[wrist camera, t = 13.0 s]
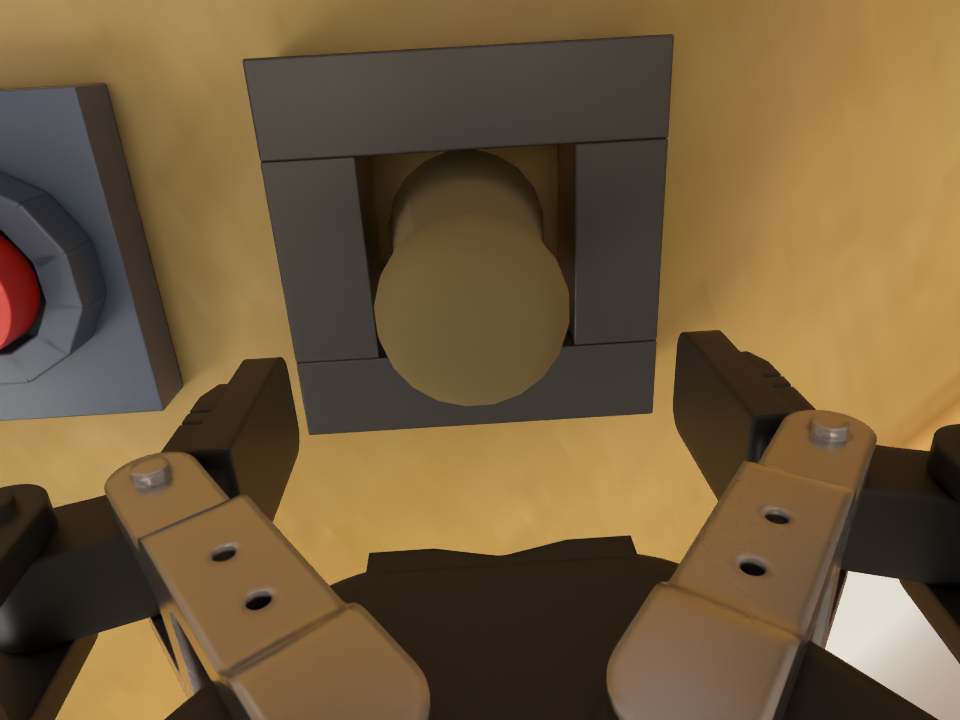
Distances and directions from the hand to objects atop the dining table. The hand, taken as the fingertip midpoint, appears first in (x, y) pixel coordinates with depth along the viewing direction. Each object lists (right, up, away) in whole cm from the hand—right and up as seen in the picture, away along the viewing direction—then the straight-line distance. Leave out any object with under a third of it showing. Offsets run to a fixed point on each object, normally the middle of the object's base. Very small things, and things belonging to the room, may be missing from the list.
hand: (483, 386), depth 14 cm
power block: (-17, +5, +13) cm, 22 cm away
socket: (-1, +6, +13) cm, 14 cm away
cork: (-1, +6, +13) cm, 14 cm away
